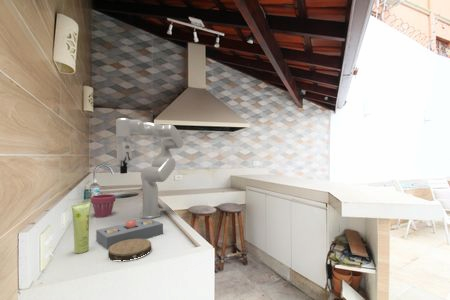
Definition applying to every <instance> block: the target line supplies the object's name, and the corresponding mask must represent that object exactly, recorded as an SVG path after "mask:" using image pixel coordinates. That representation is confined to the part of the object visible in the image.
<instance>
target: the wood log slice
mask: <svg viewBox="0 0 450 300" xmlns="http://www.w3.org/2000/svg"><path fill="white" fill-rule="evenodd" d="M107 251H108V252H107V253H108V254H107V255H108V259H109V258H110V259H109V260H110V261H113V260H121V261H123V260H130V259H134V258H138V257H141V256H143V255H145V254H147V253H148V252H150V251H151V252H152V242H151V241H150V240H148V239H129V240H124V241H120V242H118V243H115V244H113V245H112V246H110V247H109V249H107ZM151 252H150V253H151Z"/></svg>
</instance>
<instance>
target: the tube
mask: <svg viewBox="0 0 450 300" xmlns="http://www.w3.org/2000/svg"><path fill="white" fill-rule="evenodd" d="M71 213H72V224H73V243H74V244H73V245H74V250H73V251H74V253H75V254H83V253H86V252H88V251H89V249H90V247H89V246H90V244H89V241H90V239H89V237H90V235H89V234H90V215H91V214H90V213H91V201H88V202H82V203H78V204H73V205H71Z"/></svg>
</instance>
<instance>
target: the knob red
mask: <svg viewBox="0 0 450 300" xmlns="http://www.w3.org/2000/svg"><path fill="white" fill-rule="evenodd" d="M136 221H137V220H135V219H134V220H133V219H132V220H126V221H125V224H126V229H131V228H135V227H136Z"/></svg>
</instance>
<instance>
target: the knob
mask: <svg viewBox="0 0 450 300" xmlns="http://www.w3.org/2000/svg"><path fill="white" fill-rule="evenodd" d="M114 232H118V229H109V230H107V234H110V233H114Z"/></svg>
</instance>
